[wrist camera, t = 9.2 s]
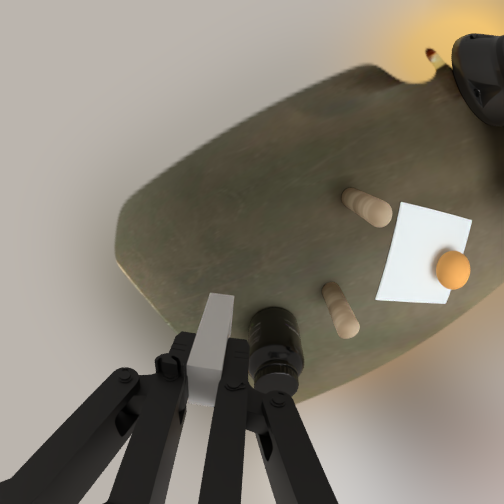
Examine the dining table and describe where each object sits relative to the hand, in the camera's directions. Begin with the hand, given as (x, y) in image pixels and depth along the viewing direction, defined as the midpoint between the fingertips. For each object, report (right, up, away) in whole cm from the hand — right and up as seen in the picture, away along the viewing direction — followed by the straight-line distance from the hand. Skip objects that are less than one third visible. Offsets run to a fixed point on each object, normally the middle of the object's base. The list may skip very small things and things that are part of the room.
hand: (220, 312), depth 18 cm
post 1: (+12, -1, +19) cm, 23 cm away
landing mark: (+27, +3, +17) cm, 32 cm away
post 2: (+14, +10, +15) cm, 23 cm away
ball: (+30, +1, +15) cm, 34 cm away
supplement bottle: (+5, -6, +21) cm, 23 cm away
